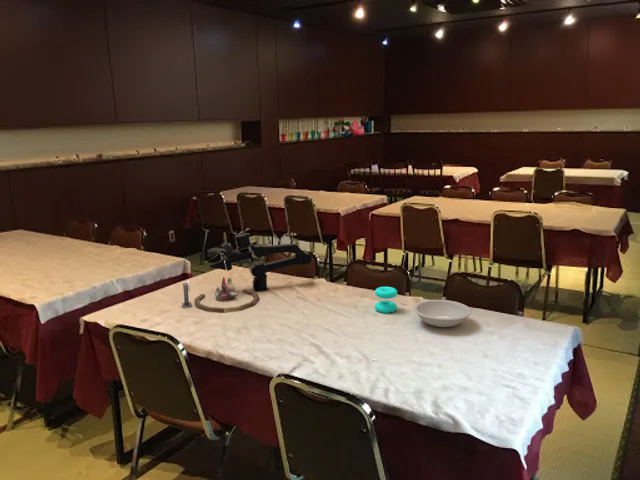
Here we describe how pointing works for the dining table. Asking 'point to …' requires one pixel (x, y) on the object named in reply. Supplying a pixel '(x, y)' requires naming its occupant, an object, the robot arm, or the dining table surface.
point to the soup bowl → (442, 312)
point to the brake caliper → (226, 291)
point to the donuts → (386, 294)
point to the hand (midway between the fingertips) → (208, 264)
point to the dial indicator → (186, 295)
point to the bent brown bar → (228, 309)
